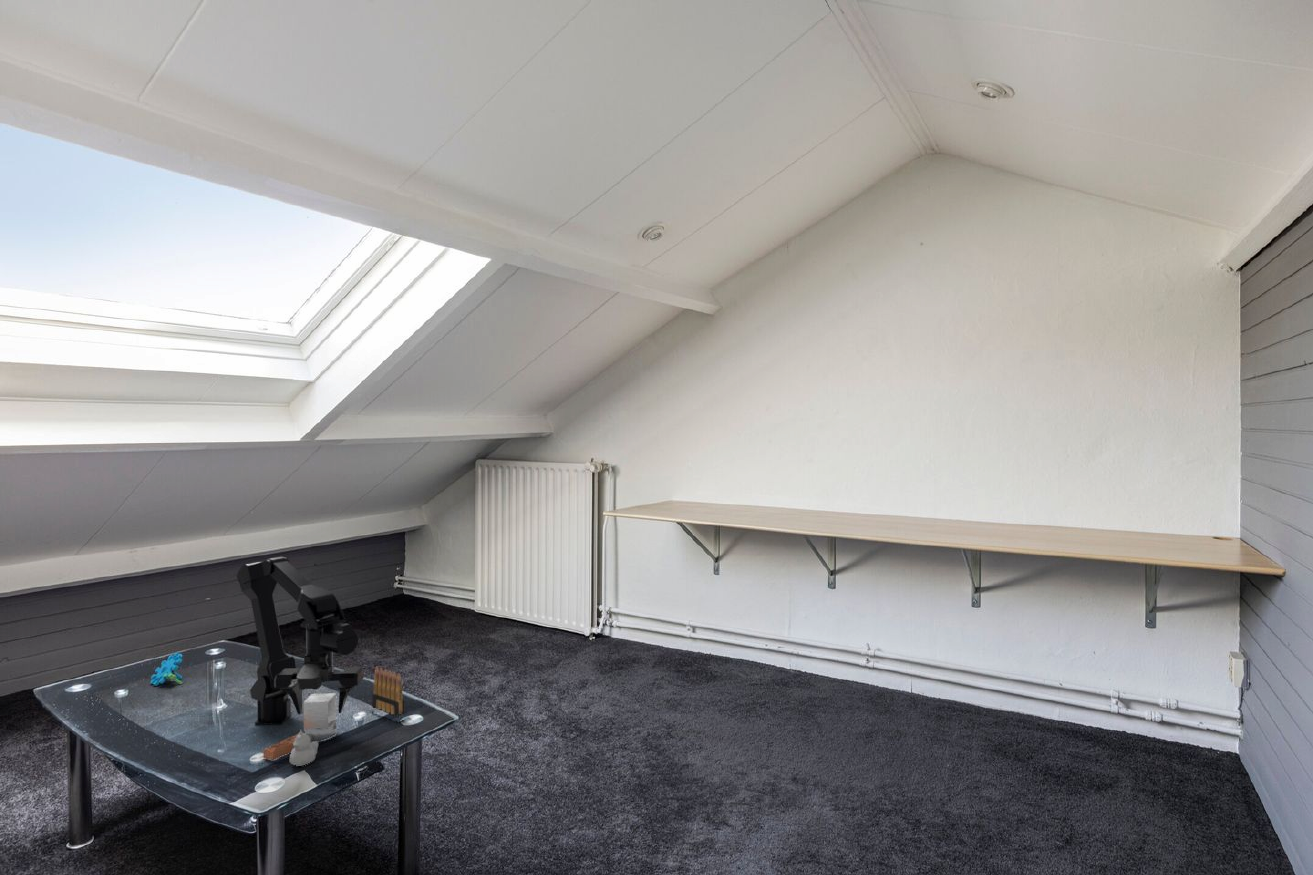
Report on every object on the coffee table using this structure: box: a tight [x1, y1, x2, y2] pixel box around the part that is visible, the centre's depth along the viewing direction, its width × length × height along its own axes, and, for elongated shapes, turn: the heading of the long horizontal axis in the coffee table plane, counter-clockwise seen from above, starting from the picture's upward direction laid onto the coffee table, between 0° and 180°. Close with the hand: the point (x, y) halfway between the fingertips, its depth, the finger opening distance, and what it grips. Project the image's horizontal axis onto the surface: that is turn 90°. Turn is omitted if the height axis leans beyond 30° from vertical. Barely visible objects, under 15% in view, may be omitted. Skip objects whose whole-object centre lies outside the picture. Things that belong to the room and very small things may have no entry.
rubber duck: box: [289, 728, 319, 767], centre depth 168 cm, size 5×7×8 cm
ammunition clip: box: [371, 665, 405, 715], centre depth 194 cm, size 11×2×12 cm, turn 55°
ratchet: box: [262, 719, 337, 760], centre depth 178 cm, size 18×7×6 cm, turn 155°
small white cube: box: [302, 692, 337, 730], centre depth 182 cm, size 6×6×6 cm
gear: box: [150, 652, 183, 687], centre depth 219 cm, size 11×6×10 cm
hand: (320, 713), depth 182 cm, fingers open, 9 cm apart
